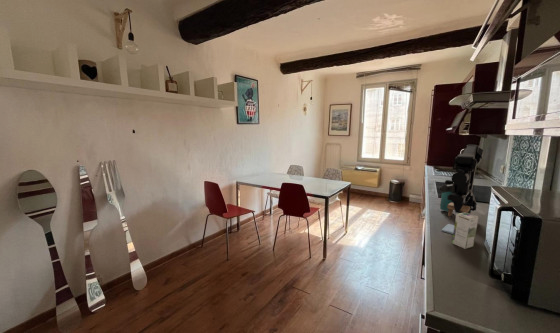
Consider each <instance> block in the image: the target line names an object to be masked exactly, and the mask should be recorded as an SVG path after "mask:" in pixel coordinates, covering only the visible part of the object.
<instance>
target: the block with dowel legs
mask: <svg viewBox="0 0 560 333" xmlns="http://www.w3.org/2000/svg"><path fill="white" fill-rule="evenodd" d="M447 208H448V209H449V210H448V211H447V212H448V213H447V216H448V217H451V216H453V214H454V211H455V208H454V203H449V204H448V207H447ZM460 211H461V212H466V213H468V211H470V206H465V205H463V206H462V208H461V209H460Z"/></svg>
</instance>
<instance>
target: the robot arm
mask: <svg viewBox="0 0 560 333" xmlns="http://www.w3.org/2000/svg"><path fill="white" fill-rule="evenodd" d="M483 158H484V149H483V148H480V146H479V145H477V144H467V145H465V147H464V148H463V151H462V153H459V154H458V155H457V156H456V157H455V158H454V162H453V166H452V170H453V171H455V173H453V174H452V176H451V180H452V181H453V184H451V185H450V184H442V185H440V186H439V190H440V192H441V194H442V193H445V192H451V193H452V194H450V195H448V198H447V200H451V201H452V202H453V203H454V208H455V210H454V212H455V213H456V214H458V213H463V212H461V211H460V209H461V208H462V206H463V205H465V206H470V211H468V213H470V214H472V212H474V211H477V204H478V203H477V201H476V199H475V197H476V196H475V195H474V193H473V187H474V183H475V182H474V181H475V176H476V169H477V167H478V165H479V164H481V161H482V160H483ZM455 219H456V216H455Z"/></svg>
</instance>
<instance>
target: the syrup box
mask: <svg viewBox="0 0 560 333" xmlns="http://www.w3.org/2000/svg"><path fill="white" fill-rule="evenodd" d="M455 217H456V218H455V221H454V225H455V226H454V232H453V234H452V239H451V244H453V245H455V246H458V247H460V248H462V249H464V250H467V249H470V248H473V247H474V246H475V239H476V233H477V228H478V222H479V216H478V215H475V214H472V213H471V214H470V213H466V212H463V213H456V214H455Z"/></svg>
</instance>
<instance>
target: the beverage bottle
mask: <svg viewBox="0 0 560 333" xmlns="http://www.w3.org/2000/svg"><path fill="white" fill-rule="evenodd" d="M453 183H454V182H453V181H452V179H445V182H444V185H451V184H453ZM450 194H452V193H451V192H445V193H442V192H441V197H440V205H439V208H440V210H442V211H447V212H448V210H449V209H448V208H447V207H448V204H449V203H453V202H452V201H451V200H447V198H448V195H450Z"/></svg>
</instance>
